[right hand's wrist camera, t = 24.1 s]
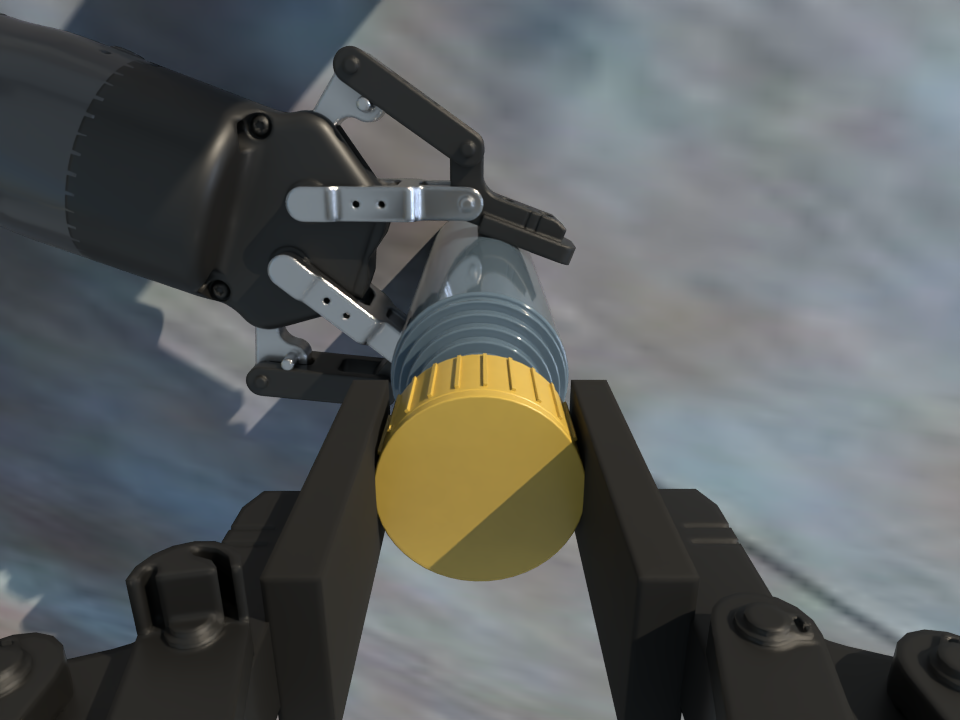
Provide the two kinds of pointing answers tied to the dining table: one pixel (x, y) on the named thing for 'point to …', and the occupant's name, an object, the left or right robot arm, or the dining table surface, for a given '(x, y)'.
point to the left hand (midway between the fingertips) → (541, 314)
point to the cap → (479, 469)
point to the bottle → (478, 309)
